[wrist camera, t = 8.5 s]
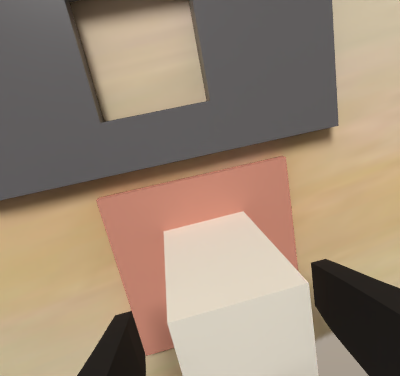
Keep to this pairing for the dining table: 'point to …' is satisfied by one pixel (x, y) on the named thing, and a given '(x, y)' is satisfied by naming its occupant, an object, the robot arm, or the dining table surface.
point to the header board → (165, 119)
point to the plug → (236, 302)
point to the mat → (182, 216)
